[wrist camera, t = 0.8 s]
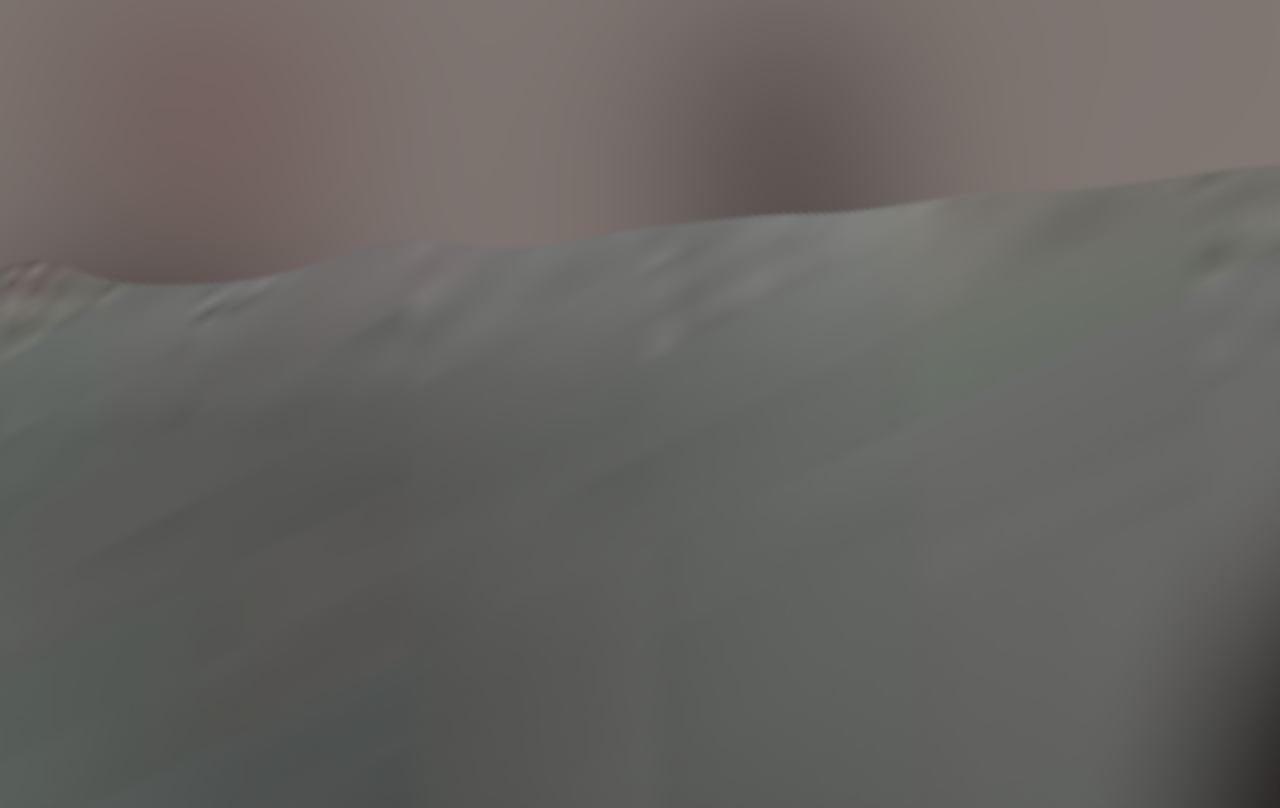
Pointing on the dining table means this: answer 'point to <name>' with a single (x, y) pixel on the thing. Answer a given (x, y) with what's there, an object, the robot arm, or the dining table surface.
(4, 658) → the dining table surface
